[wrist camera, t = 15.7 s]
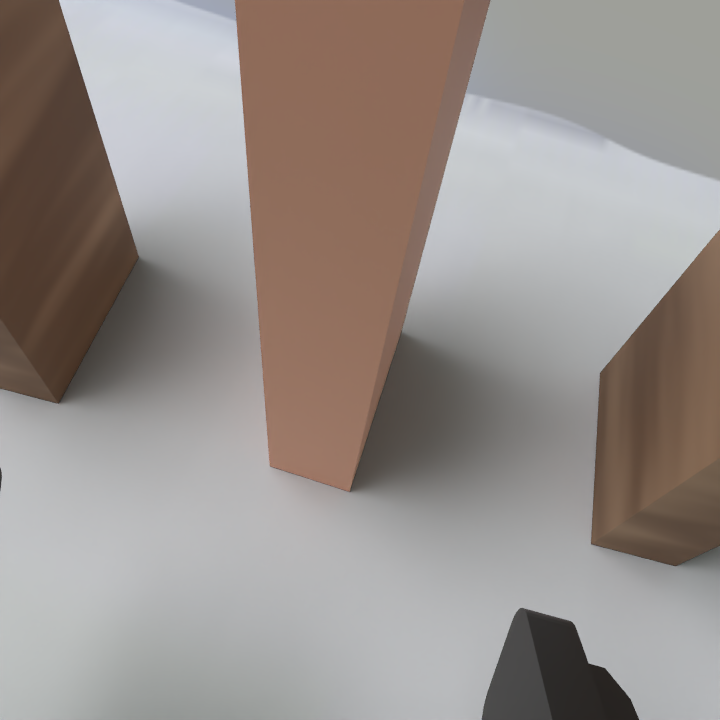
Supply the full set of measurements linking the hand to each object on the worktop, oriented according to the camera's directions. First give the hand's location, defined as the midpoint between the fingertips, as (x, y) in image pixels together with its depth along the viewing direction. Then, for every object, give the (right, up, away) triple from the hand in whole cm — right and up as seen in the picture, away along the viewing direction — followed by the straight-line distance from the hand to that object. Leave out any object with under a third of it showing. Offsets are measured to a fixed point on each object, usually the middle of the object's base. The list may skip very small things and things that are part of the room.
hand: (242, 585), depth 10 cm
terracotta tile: (+1, +2, +11) cm, 11 cm away
